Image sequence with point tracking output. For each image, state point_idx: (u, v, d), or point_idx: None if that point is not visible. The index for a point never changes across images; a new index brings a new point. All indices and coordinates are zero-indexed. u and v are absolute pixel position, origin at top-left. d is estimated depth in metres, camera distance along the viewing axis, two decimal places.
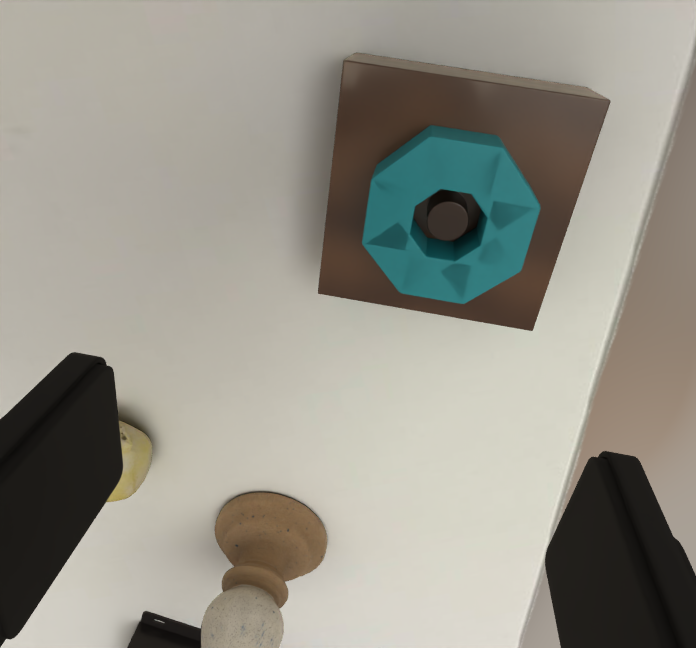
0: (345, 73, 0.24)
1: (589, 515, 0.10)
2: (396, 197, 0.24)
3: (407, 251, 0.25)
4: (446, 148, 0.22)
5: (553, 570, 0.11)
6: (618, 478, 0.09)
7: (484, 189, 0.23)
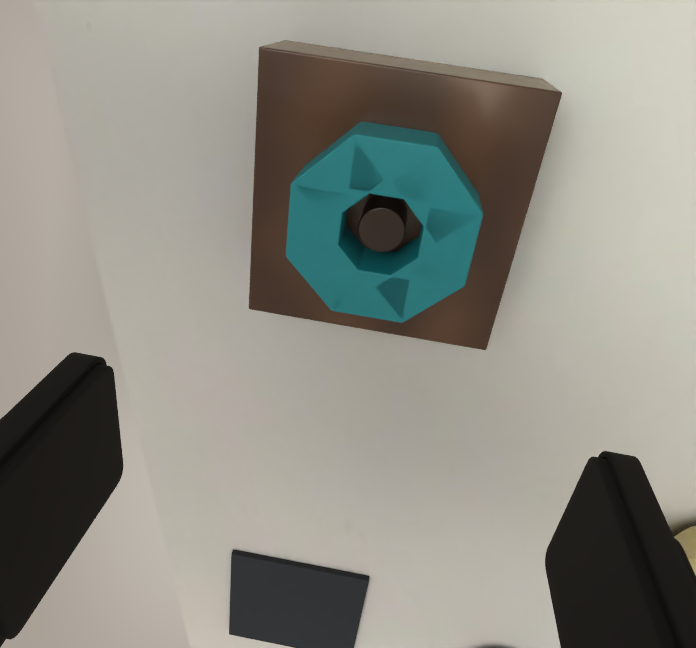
0: (259, 308, 0.26)
1: (589, 515, 0.10)
2: (349, 288, 0.22)
3: (410, 278, 0.22)
4: (295, 240, 0.21)
5: (553, 570, 0.11)
6: (618, 478, 0.09)
7: (336, 199, 0.20)
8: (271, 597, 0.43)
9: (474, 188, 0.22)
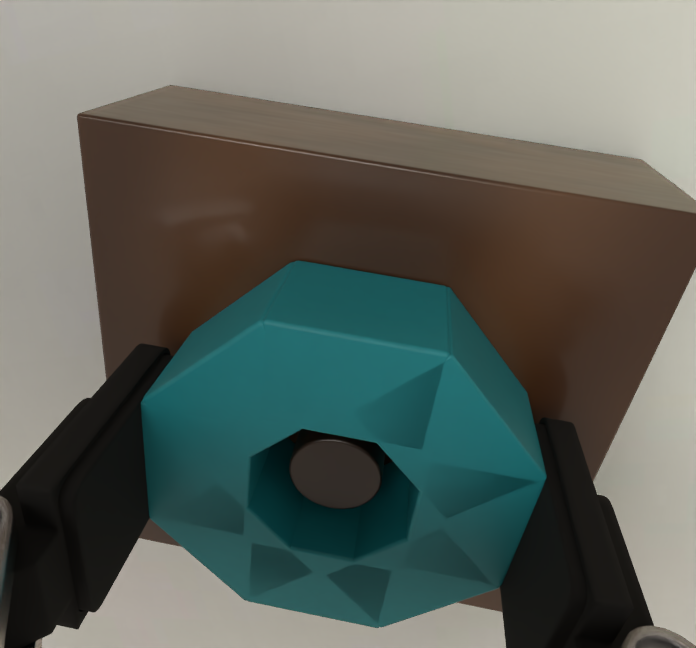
0: (140, 535, 0.15)
1: None
2: (275, 573, 0.11)
3: (393, 567, 0.11)
4: (163, 495, 0.11)
5: None
6: (551, 440, 0.10)
7: (235, 436, 0.10)
8: None
9: (520, 385, 0.11)
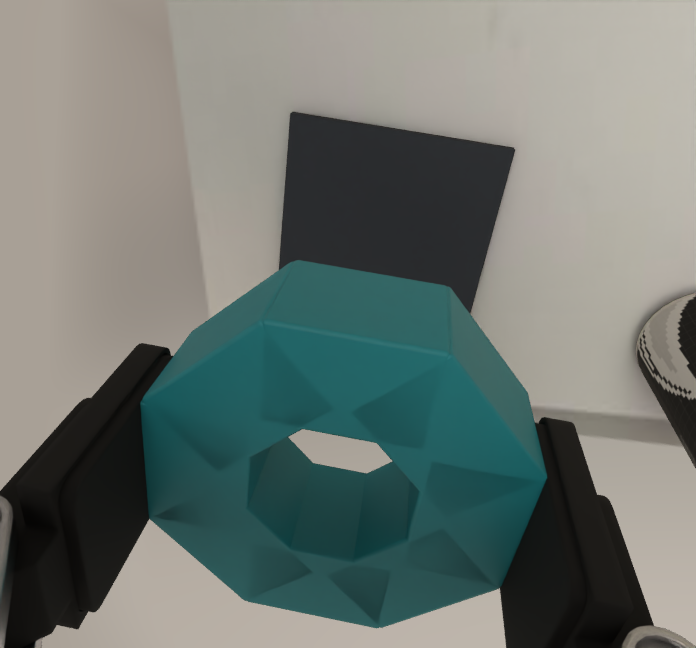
0: None
1: None
2: (275, 573, 0.11)
3: (394, 568, 0.11)
4: (163, 495, 0.11)
5: None
6: (551, 440, 0.10)
7: (235, 436, 0.10)
8: (348, 213, 0.27)
9: (520, 385, 0.11)
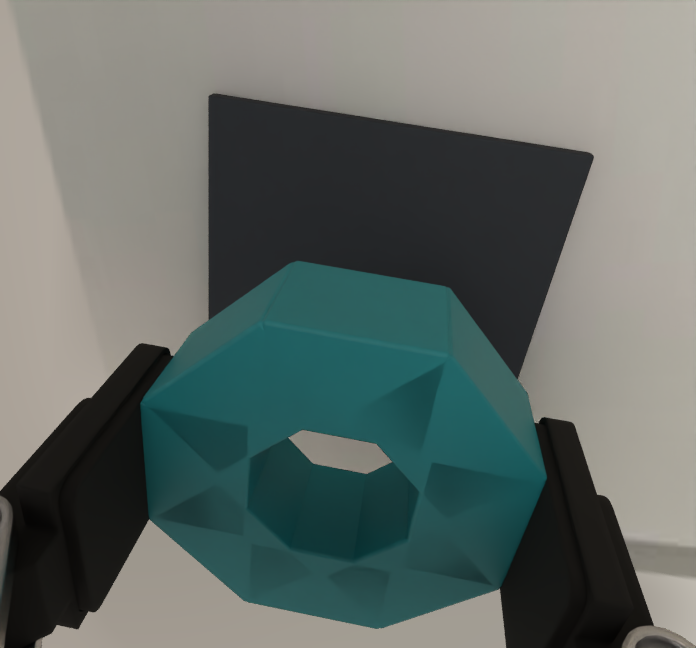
0: None
1: None
2: (274, 573, 0.11)
3: (393, 568, 0.11)
4: (163, 496, 0.11)
5: None
6: (551, 440, 0.10)
7: (234, 437, 0.10)
8: (312, 260, 0.17)
9: (520, 386, 0.11)
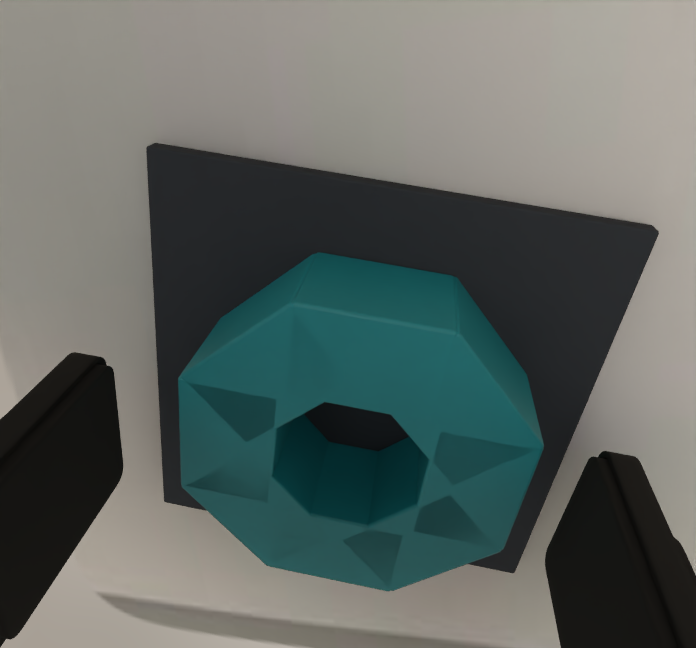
0: None
1: (589, 515, 0.10)
2: (295, 538, 0.12)
3: (404, 532, 0.12)
4: (196, 465, 0.12)
5: (553, 570, 0.11)
6: (618, 478, 0.09)
7: (263, 409, 0.11)
8: None
9: (520, 367, 0.12)
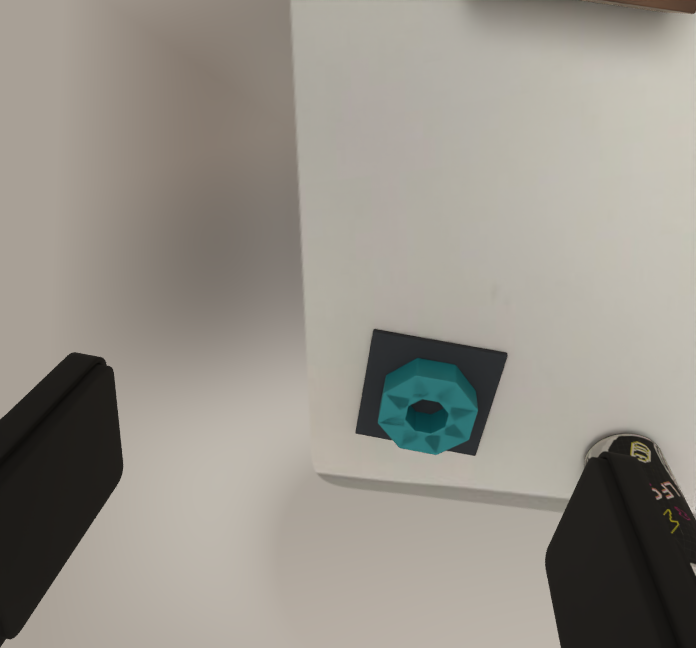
0: None
1: (589, 515, 0.10)
2: (409, 438, 0.43)
3: (441, 435, 0.43)
4: (383, 416, 0.43)
5: (553, 570, 0.11)
6: (618, 478, 0.09)
7: (405, 401, 0.42)
8: None
9: (473, 389, 0.43)
